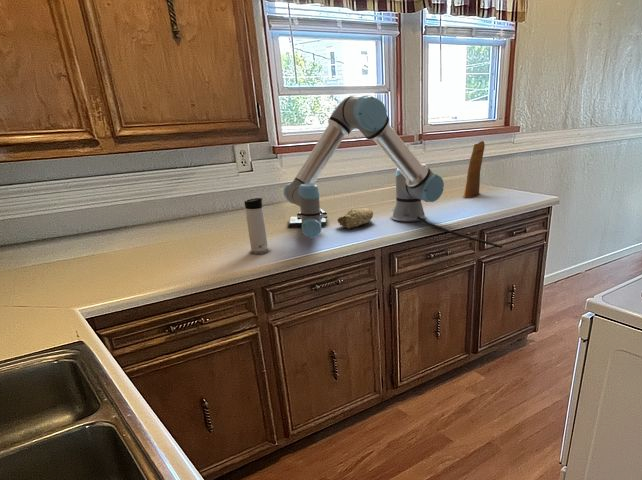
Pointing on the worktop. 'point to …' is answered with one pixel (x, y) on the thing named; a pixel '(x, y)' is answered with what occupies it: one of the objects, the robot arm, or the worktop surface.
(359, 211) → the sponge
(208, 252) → the worktop surface
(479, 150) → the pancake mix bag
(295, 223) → the stove panel
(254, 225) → the travel mug
